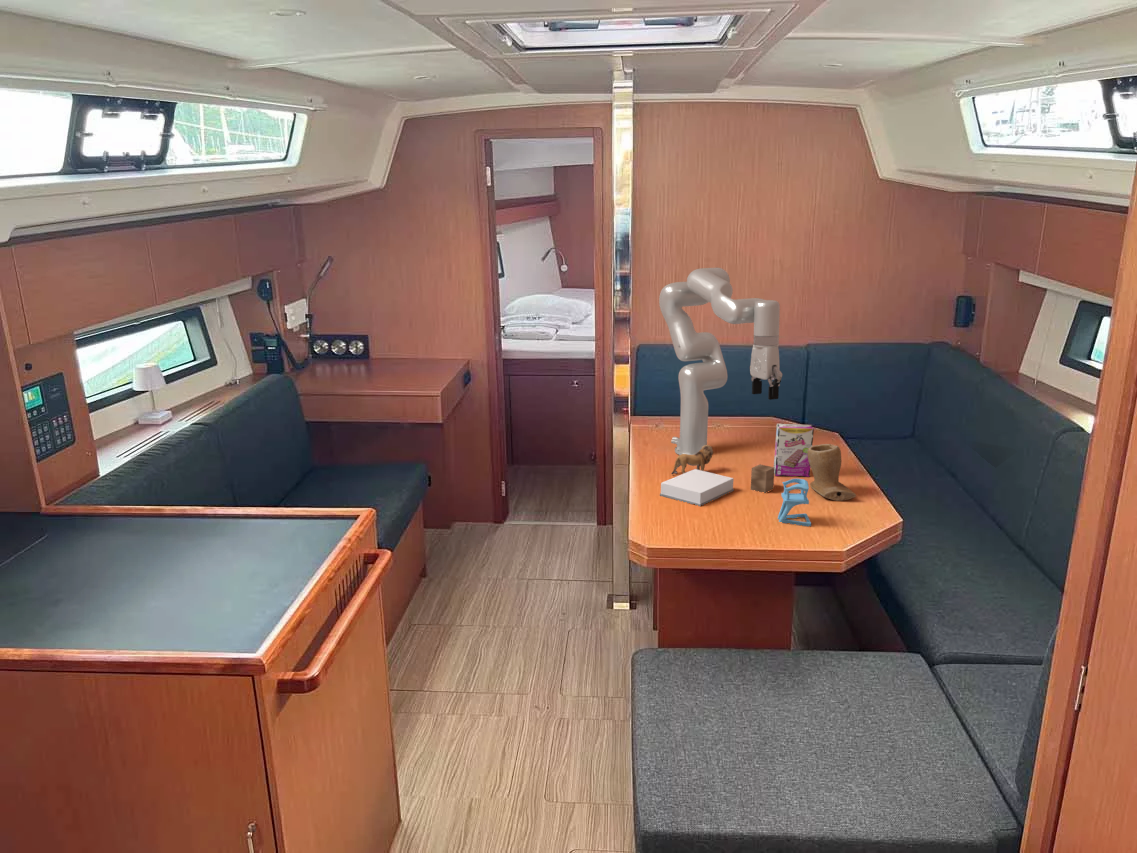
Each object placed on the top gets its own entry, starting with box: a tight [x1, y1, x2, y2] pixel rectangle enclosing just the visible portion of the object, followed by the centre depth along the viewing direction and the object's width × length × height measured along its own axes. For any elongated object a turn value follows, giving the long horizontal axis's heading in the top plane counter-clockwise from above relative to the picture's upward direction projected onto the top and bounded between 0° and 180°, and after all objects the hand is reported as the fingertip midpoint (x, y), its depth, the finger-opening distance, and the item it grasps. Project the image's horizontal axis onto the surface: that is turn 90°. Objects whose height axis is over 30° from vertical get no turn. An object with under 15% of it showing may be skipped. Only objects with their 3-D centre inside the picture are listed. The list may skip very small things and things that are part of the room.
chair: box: [777, 478, 812, 527], centre depth 236 cm, size 8×8×12 cm
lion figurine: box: [671, 444, 714, 475], centre depth 277 cm, size 15×5×9 cm, turn 111°
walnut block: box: [750, 463, 775, 494], centre depth 262 cm, size 5×5×7 cm
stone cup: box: [807, 443, 857, 502], centre depth 256 cm, size 15×12×15 cm
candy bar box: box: [773, 423, 815, 478], centre depth 274 cm, size 11×5×16 cm, turn 84°
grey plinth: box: [659, 468, 735, 507], centre depth 259 cm, size 14×18×4 cm
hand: (764, 396), depth 265 cm, fingers open, 9 cm apart
